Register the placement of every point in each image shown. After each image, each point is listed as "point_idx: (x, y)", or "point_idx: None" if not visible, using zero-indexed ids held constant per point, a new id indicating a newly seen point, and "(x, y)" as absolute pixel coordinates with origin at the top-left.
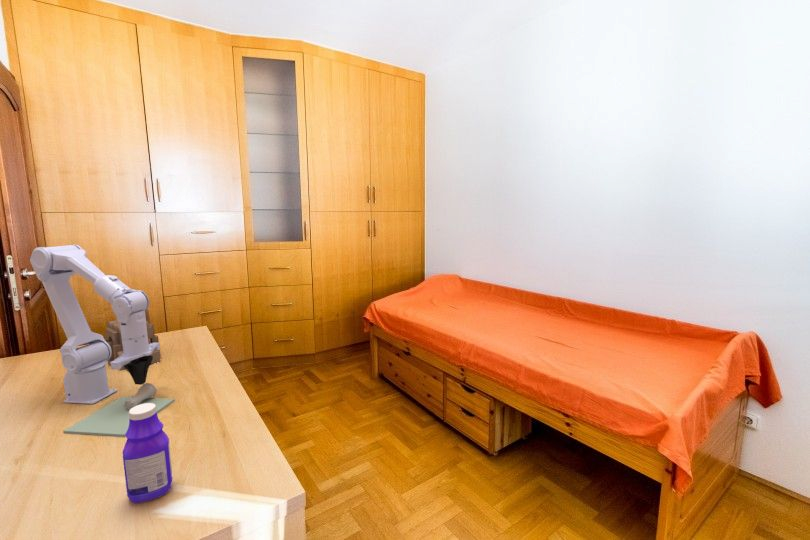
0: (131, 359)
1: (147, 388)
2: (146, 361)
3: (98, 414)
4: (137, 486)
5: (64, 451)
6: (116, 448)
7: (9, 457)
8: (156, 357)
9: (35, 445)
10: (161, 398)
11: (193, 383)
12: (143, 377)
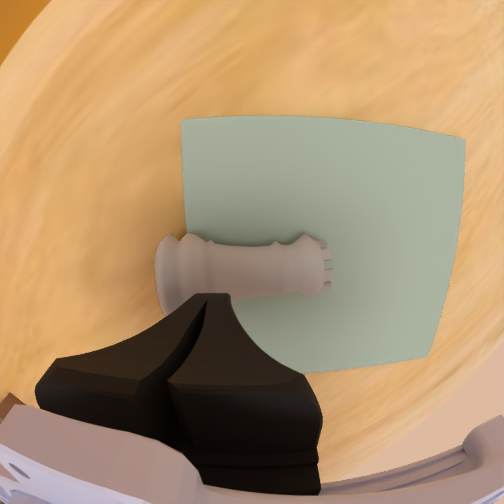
0: (422, 494)
1: (200, 267)
2: (151, 385)
3: (342, 349)
4: None
5: (498, 265)
6: (496, 126)
7: (485, 358)
8: (8, 408)
9: (460, 357)
10: (184, 192)
11: (34, 175)
12: (213, 308)
